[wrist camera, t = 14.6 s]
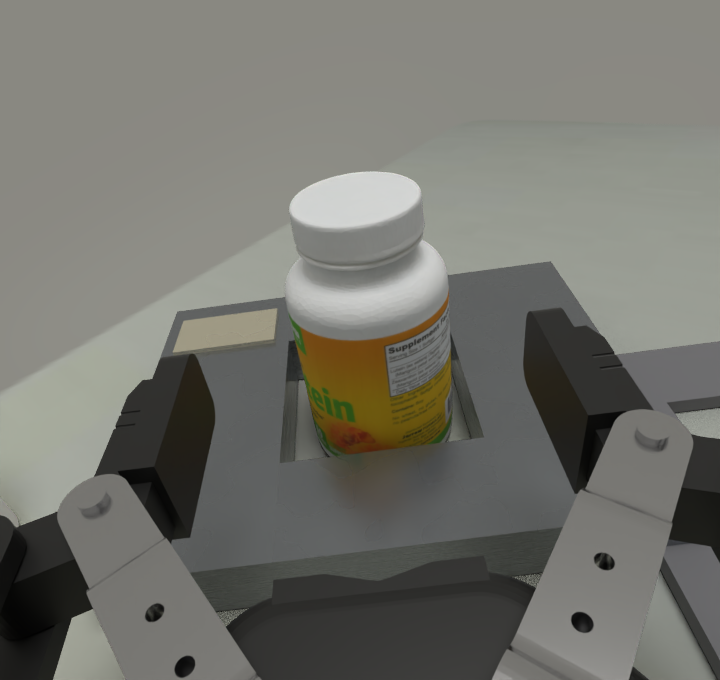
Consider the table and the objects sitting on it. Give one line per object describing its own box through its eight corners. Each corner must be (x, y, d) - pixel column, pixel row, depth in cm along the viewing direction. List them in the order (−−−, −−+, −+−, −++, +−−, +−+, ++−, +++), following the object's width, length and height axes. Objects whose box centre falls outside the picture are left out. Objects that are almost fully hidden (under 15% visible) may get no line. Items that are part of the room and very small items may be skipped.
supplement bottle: (293, 423, 23) (232, 202, 17) (393, 364, 25) (370, 151, 20) (372, 506, 19) (329, 260, 14) (482, 428, 22) (485, 188, 16)
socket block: (547, 300, 28) (550, 257, 26) (700, 553, 17) (721, 503, 15) (191, 347, 28) (176, 308, 27) (106, 624, 17) (73, 582, 16)
